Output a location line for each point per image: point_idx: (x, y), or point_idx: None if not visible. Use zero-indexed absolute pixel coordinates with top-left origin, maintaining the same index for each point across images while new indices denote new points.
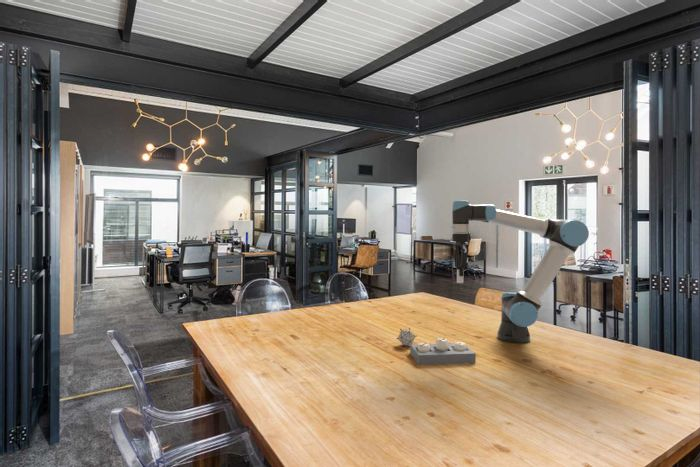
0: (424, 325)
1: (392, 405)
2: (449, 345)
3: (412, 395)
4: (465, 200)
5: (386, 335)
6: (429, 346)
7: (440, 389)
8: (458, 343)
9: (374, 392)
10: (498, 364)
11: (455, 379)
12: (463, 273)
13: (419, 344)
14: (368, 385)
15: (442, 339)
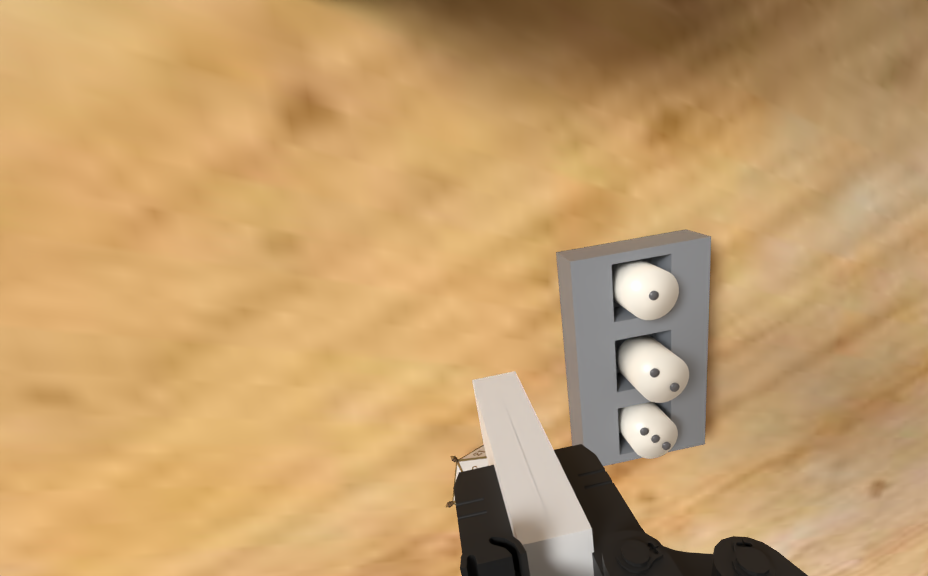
0: (111, 373)
1: (910, 483)
2: (603, 325)
3: (876, 444)
4: None
5: (344, 531)
6: (663, 415)
7: (862, 377)
8: (651, 301)
9: (840, 522)
10: (710, 138)
11: (810, 327)
12: (558, 462)
13: (651, 452)
14: (801, 537)
15: (656, 376)
